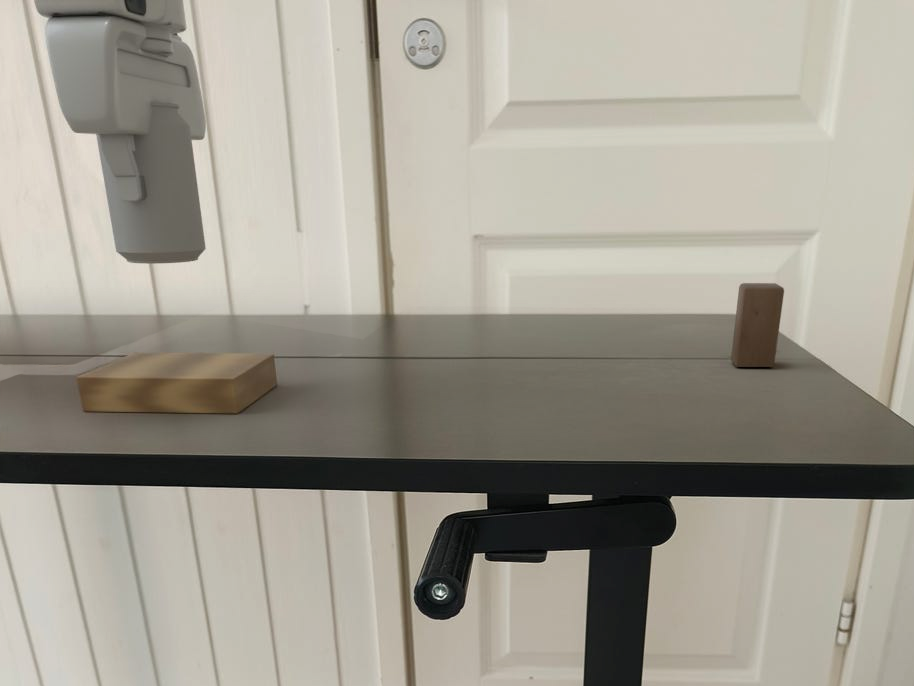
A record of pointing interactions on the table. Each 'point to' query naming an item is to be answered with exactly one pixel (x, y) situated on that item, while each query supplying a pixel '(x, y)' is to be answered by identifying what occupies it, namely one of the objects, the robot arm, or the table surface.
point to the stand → (178, 383)
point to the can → (159, 195)
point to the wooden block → (757, 324)
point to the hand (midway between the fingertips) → (155, 199)
